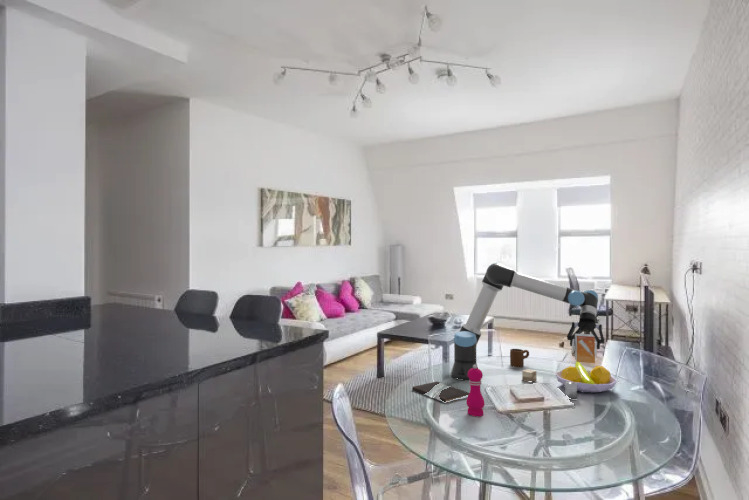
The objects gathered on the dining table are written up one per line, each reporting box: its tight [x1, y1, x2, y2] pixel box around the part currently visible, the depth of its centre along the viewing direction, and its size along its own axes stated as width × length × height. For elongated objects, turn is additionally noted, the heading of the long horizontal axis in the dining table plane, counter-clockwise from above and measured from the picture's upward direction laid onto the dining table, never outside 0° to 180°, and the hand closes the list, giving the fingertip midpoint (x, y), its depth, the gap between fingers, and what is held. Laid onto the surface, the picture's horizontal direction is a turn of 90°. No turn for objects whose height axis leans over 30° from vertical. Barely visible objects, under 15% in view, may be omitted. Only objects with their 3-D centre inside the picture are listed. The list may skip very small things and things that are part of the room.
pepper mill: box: [465, 364, 485, 417], centre depth 170 cm, size 7×7×20 cm
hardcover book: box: [411, 381, 470, 402], centre depth 196 cm, size 16×23×2 cm
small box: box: [574, 333, 596, 364], centre depth 204 cm, size 8×6×13 cm
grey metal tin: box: [564, 381, 578, 400], centre depth 188 cm, size 5×5×7 cm
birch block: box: [521, 368, 538, 382], centre depth 217 cm, size 5×5×5 cm
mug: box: [509, 348, 530, 368], centre depth 248 cm, size 12×8×9 cm, turn 103°
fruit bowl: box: [554, 360, 618, 393], centre depth 204 cm, size 28×27×11 cm
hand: (583, 352), depth 201 cm, fingers closed on small box, 9 cm apart
